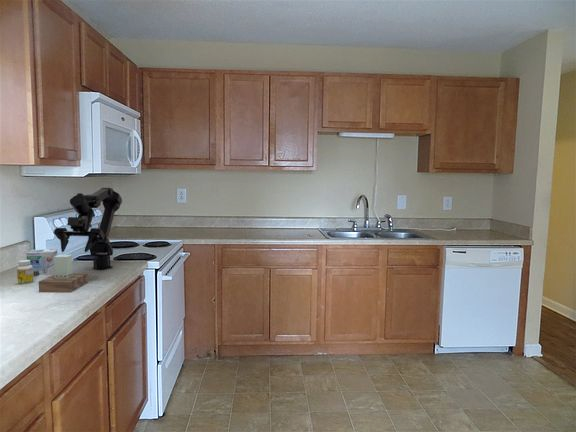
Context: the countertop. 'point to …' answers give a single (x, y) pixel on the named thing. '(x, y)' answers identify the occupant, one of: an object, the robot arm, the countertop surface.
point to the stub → (63, 267)
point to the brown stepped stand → (63, 283)
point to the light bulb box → (42, 261)
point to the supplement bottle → (25, 272)
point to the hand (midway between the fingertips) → (73, 251)
